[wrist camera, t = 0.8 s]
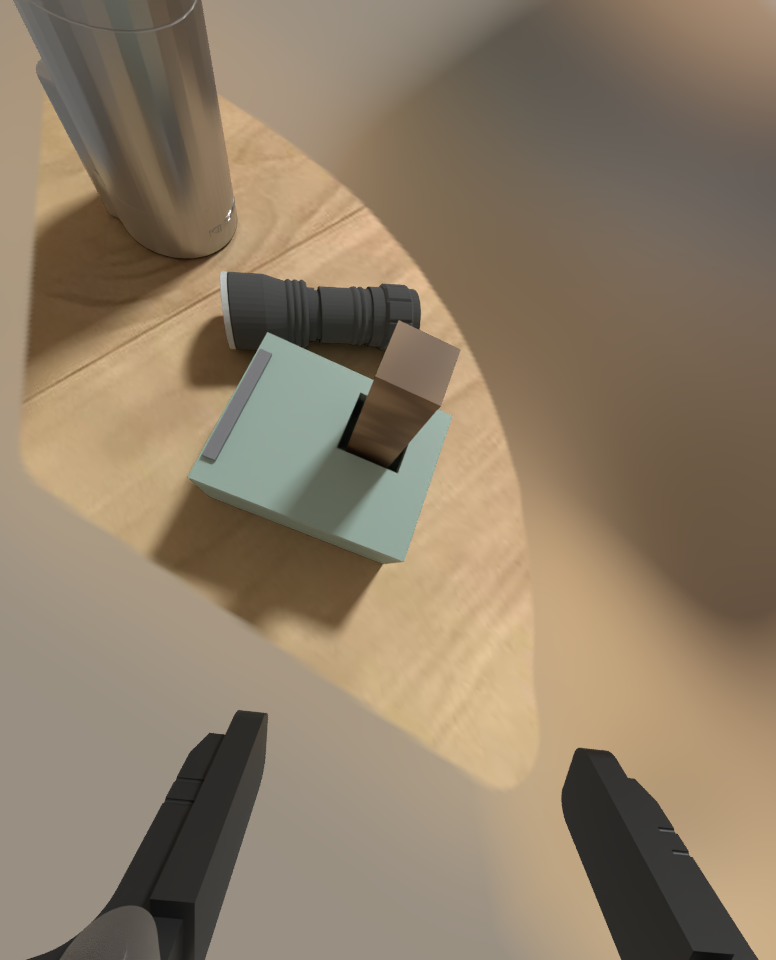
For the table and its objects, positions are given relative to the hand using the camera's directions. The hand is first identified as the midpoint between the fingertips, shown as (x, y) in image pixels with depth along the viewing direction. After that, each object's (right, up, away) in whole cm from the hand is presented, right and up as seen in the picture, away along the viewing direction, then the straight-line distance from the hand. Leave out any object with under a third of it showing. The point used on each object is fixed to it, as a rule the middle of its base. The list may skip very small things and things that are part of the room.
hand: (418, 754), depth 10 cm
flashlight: (-7, +20, +24) cm, 32 cm away
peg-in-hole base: (-6, +8, +21) cm, 23 cm away
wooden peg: (-3, +9, +21) cm, 23 cm away
